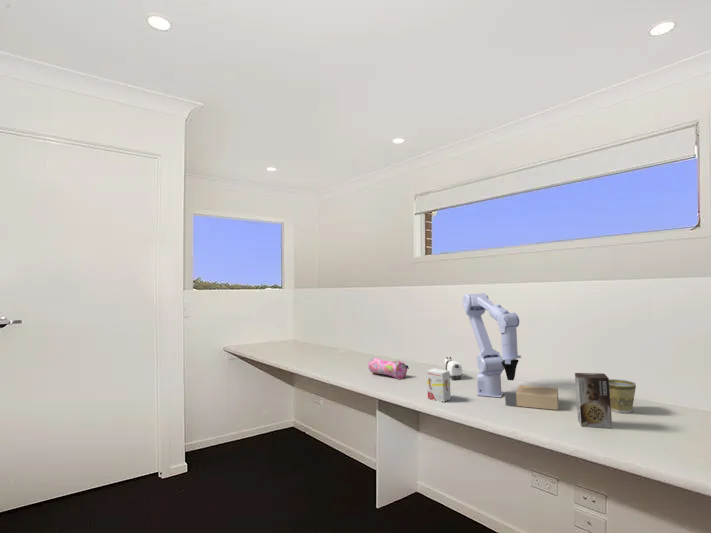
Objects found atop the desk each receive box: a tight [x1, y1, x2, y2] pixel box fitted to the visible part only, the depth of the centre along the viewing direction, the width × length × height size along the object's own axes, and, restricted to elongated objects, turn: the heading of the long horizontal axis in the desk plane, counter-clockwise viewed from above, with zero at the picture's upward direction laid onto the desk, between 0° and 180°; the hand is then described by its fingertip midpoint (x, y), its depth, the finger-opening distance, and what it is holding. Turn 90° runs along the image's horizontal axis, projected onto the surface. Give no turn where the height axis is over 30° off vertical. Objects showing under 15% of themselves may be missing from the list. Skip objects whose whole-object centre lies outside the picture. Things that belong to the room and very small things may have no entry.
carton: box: [516, 384, 559, 411], centre depth 161 cm, size 14×12×5 cm
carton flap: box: [504, 391, 559, 411], centre depth 156 cm, size 18×1×5 cm, turn 63°
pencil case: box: [367, 356, 409, 380], centre depth 217 cm, size 21×9×9 cm, turn 43°
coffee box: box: [574, 372, 613, 429], centre depth 137 cm, size 9×6×16 cm
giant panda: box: [443, 356, 463, 381], centre depth 209 cm, size 15×6×10 cm, turn 9°
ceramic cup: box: [609, 378, 637, 414], centre depth 150 cm, size 13×10×10 cm
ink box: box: [426, 367, 452, 403], centre depth 172 cm, size 9×5×12 cm, turn 41°
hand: (511, 379), depth 162 cm, fingers open, 2 cm apart
